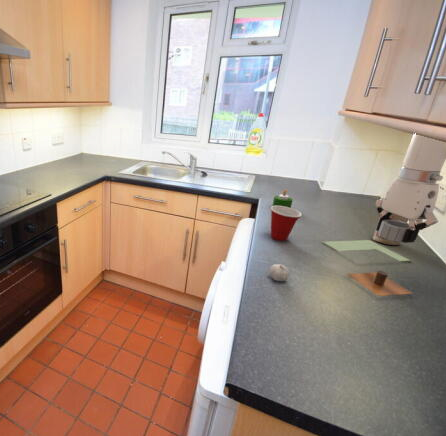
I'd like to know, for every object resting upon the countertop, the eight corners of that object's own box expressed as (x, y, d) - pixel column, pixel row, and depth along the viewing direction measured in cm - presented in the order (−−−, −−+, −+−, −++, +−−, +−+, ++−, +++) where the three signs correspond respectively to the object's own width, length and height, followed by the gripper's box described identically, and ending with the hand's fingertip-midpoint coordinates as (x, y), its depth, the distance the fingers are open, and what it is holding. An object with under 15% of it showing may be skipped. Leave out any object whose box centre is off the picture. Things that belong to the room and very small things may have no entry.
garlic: (287, 286, 87) (291, 271, 85) (267, 281, 89) (270, 266, 87) (287, 276, 92) (291, 262, 90) (268, 271, 94) (272, 257, 92)
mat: (368, 240, 117) (369, 239, 117) (410, 261, 102) (410, 260, 102) (322, 242, 114) (322, 241, 114) (357, 264, 100) (358, 262, 100)
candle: (268, 207, 151) (273, 188, 147) (276, 204, 156) (281, 186, 152) (285, 212, 145) (290, 192, 141) (293, 209, 150) (298, 190, 146)
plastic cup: (295, 246, 111) (304, 216, 106) (264, 240, 115) (270, 211, 111) (293, 235, 120) (301, 207, 116) (264, 230, 124) (270, 203, 120)
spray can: (366, 236, 121) (383, 189, 113) (386, 237, 120) (405, 189, 113) (382, 245, 113) (402, 195, 105) (404, 246, 112) (425, 196, 105)
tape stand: (377, 274, 94) (381, 262, 92) (412, 295, 84) (418, 282, 82) (345, 276, 93) (349, 264, 91) (378, 298, 82) (383, 284, 81)
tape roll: (392, 231, 89) (397, 219, 87) (416, 241, 82) (422, 228, 81) (371, 232, 88) (376, 220, 86) (394, 243, 82) (400, 229, 80)
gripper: (469, 183, 71) (438, 249, 78) (397, 168, 87) (377, 223, 94) (442, 184, 70) (414, 251, 77) (375, 168, 86) (356, 224, 93)
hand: (394, 235), depth 85 cm, fingers closed on tape roll, 7 cm apart
